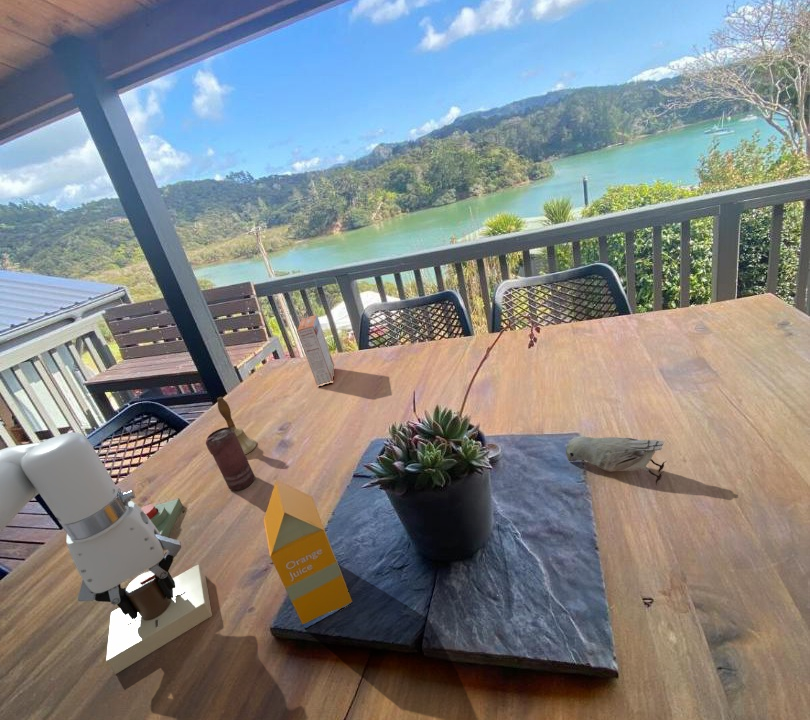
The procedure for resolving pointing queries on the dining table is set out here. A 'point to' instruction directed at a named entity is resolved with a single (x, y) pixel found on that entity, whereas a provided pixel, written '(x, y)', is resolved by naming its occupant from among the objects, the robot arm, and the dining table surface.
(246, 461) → the can
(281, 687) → the dining table surface
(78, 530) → the robot arm
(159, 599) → the knob
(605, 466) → the decorative bird
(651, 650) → the dining table surface
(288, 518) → the orange juice
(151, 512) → the button
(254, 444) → the hand bell
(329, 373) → the cracker box
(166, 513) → the button block
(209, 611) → the panel
